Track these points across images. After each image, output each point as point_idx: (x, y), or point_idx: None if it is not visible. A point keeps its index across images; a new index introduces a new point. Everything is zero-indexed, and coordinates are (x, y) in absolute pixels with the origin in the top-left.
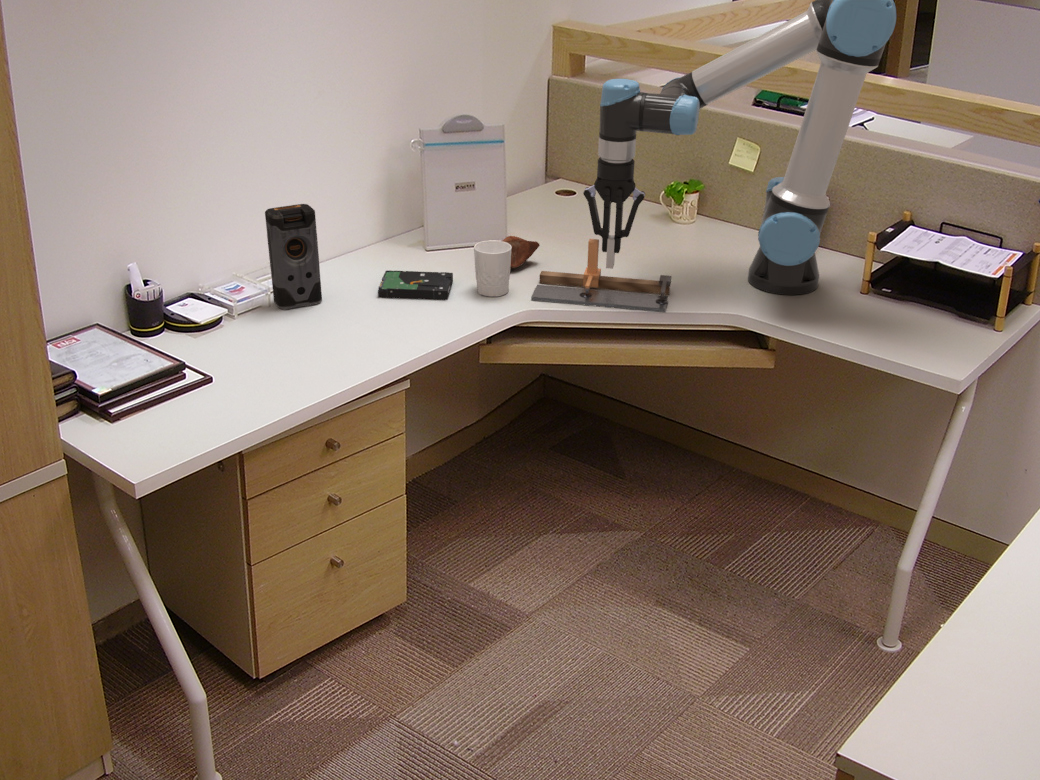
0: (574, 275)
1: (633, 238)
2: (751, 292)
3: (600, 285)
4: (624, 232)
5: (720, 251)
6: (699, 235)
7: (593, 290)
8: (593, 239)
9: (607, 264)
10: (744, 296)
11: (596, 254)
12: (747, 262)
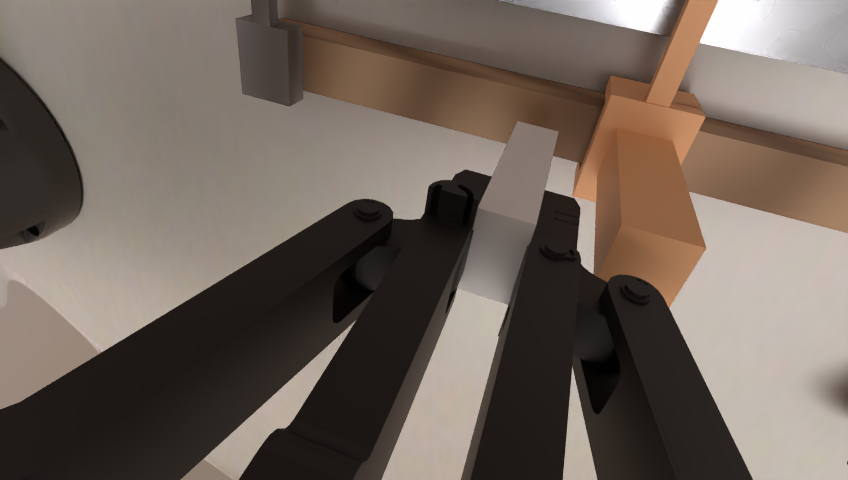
0: (733, 175)
1: (412, 463)
2: (31, 52)
3: (591, 96)
4: (375, 227)
5: None
6: (256, 434)
7: (652, 16)
8: None
9: (547, 138)
10: (35, 11)
11: (624, 180)
12: (117, 278)
